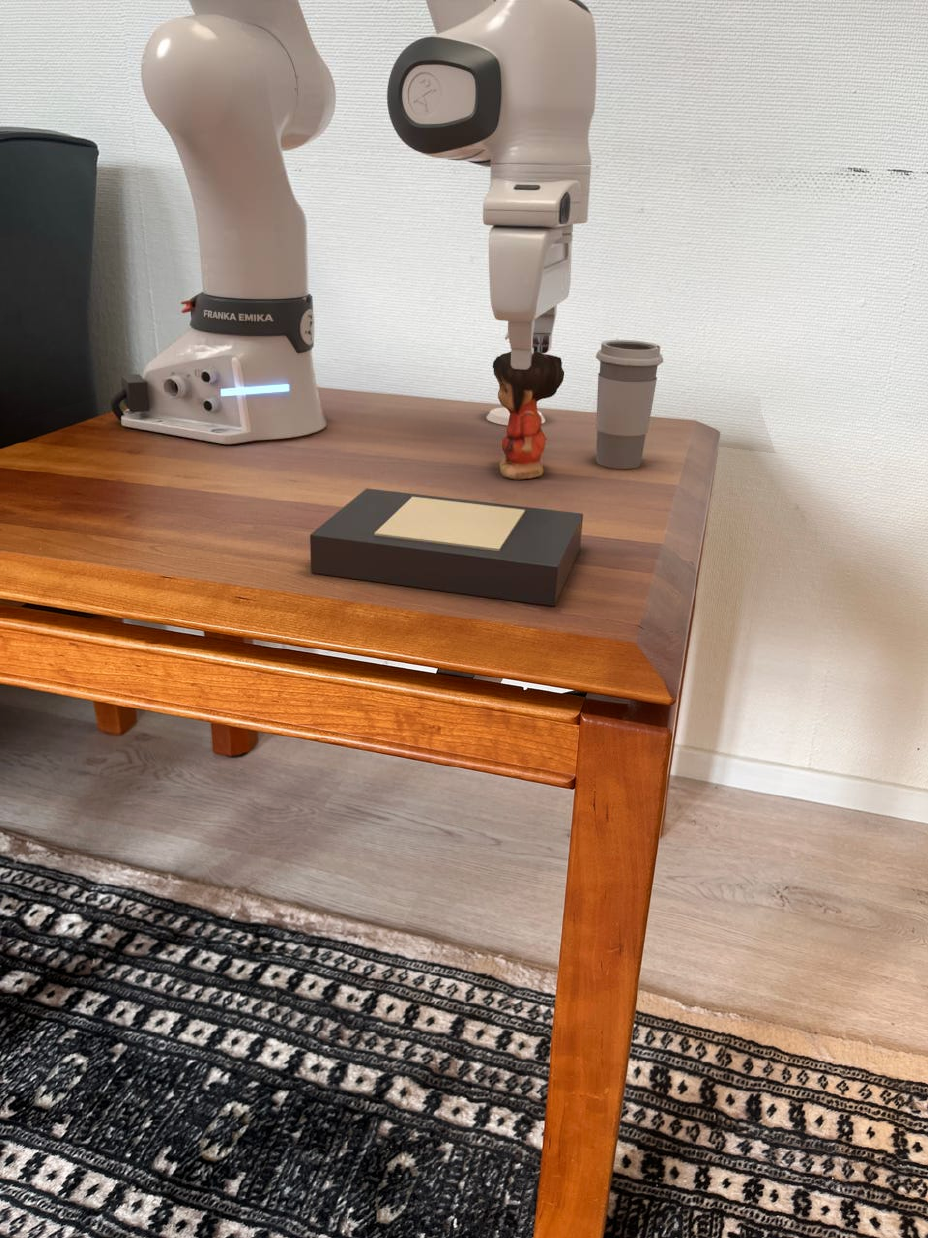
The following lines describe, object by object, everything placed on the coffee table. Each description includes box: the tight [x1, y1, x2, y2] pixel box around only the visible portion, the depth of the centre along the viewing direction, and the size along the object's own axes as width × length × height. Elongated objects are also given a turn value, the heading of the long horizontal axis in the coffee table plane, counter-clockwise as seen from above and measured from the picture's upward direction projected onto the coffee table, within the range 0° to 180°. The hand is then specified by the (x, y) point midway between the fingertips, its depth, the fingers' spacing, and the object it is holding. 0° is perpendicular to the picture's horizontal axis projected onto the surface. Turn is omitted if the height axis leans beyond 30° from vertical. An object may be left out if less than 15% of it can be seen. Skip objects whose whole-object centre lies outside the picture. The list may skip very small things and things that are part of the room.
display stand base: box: [309, 488, 584, 607], centre depth 74 cm, size 18×12×3 cm, turn 75°
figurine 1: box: [485, 332, 546, 426], centre depth 116 cm, size 7×7×12 cm
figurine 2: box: [492, 351, 565, 481], centre depth 96 cm, size 6×6×12 cm
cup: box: [595, 339, 664, 470], centre depth 100 cm, size 7×7×12 cm
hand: (531, 359), depth 93 cm, fingers open, 8 cm apart
